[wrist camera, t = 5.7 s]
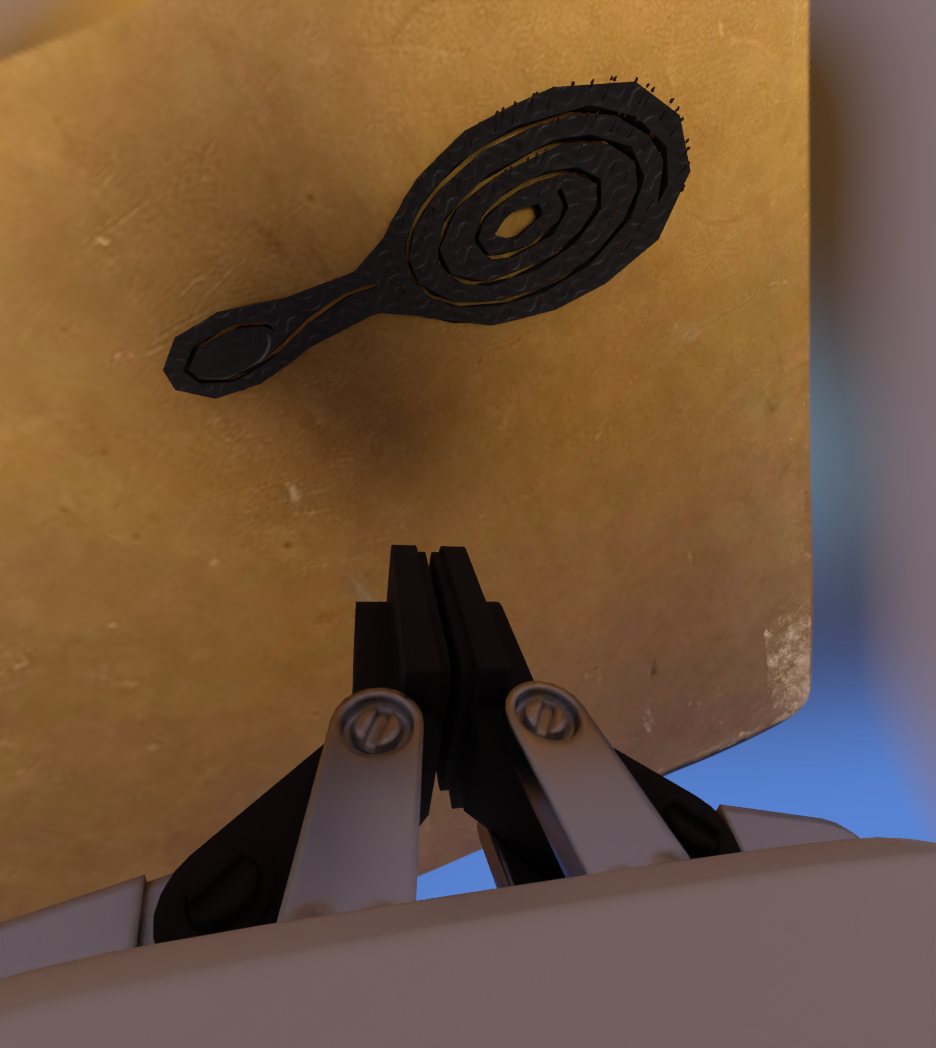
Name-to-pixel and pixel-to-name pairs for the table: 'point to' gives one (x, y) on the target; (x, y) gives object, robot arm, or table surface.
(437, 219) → the hairbrush
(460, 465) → the table surface
